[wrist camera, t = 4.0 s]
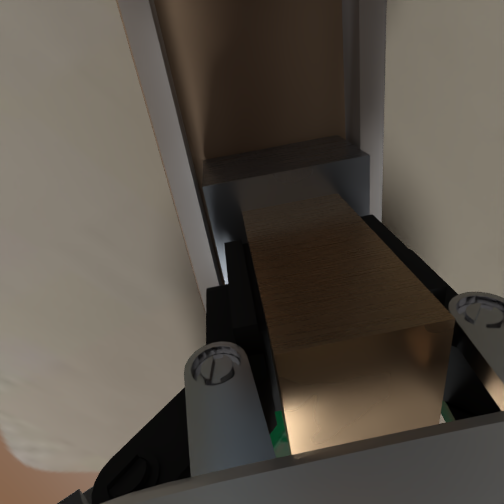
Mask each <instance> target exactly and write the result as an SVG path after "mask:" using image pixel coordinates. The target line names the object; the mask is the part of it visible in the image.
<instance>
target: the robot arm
mask: <svg viewBox="0 0 504 504" xmlns="http://www.w3.org/2000/svg"><path fill="white" fill-rule="evenodd" d="M361 218H362V219H363V221H364V222H365V223H366V224H367V225H368V226H369V227H370V228H371V229H372V230H373V231H374V232H375V233H376V234H377V235H378V237H379V238H380V239H381V240H382V241H383V242H384V243H385V244H386V245H387V246H388V247H389V248H390V249H391V250H392V251H393V253H394V254H395V255H396V256H397V257H398V258H399V259H400V260H401V261H402V262H403V263H404V264H405V265H406V266H407V267H408V269H409V270H410V271H411V272H412V273H413V274H414V275H415V276H416V277H417V278H418V279H419V280H420V281H421V282H422V283H423V285H424V286H425V287H426V288H427V289H428V290H429V291H430V292H431V293H432V294H433V295H434V296H435V297H436V298H437V299H438V301H439V302H440V303H441V304H442V305H443V306H444V307H445V308H446V309H447V310H448V311H449V312H450V313H451V314H452V315H453V317H454V318H455V325H454V331H453V338H452V344H451V350H450V357H449V363H448V369H447V376H446V382H445V388H444V395H443V401H442V407H441V414H442V416H443V418H444V420H445V422H446V423H442V424H437V425H432V426H427V427H422V428H417V429H412V430H408V431H403V432H398V433H393V434H388V435H383V436H379V437H374V438H369V439H364V440H359V441H355V442H350V443H345V444H340V445H336V446H331V447H326V448H321V449H317V450H312V451H307V452H303V453H298V454H293V455H288V456H284V457H279V458H276V456H275V452H274V448H273V445H272V441H271V438H270V434H271V432H272V431H273V430H274V428H275V427H276V426H277V421H276V415H275V412H276V411H281V410H282V409H281V403H280V398H279V392H278V386H277V381H276V375H275V370H274V364H273V359H272V353H271V348H270V342H269V336H268V331H267V326H266V321H265V316H264V311H263V307H262V302H261V298H260V293H259V289H258V284H257V280H256V275H255V271H254V266H253V262H252V257H251V253H250V248H249V244H248V243H245V244H242V240H236V241H231V242H226V243H224V246H225V256H226V266H227V277H228V284H225V285H220V286H215V287H210V288H207V289H206V345H205V346H203V347H201V348H200V349H198V350H197V351H195V352H194V353H193V355H192V356H191V357H190V358H189V359H188V361H187V363H186V365H185V370H184V381H185V388H184V389H182V390H181V391H180V392H179V393H178V394H177V395H176V396H175V397H174V398H173V399H172V400H171V401H170V402H169V403H168V404H167V405H166V406H165V407H164V408H163V409H162V410H161V411H160V412H159V413H158V414H157V415H156V416H155V417H154V418H153V419H152V420H151V421H149V422H148V423H147V424H146V425H145V426H144V427H143V428H142V429H141V430H140V431H139V432H138V433H137V434H136V435H135V436H134V437H133V438H132V439H131V440H130V441H129V442H128V443H127V444H126V445H125V446H124V447H123V448H122V449H121V450H120V451H119V452H117V453H116V454H115V455H114V456H113V457H112V458H111V459H110V460H109V462H108V463H107V464H106V465H105V466H104V467H103V469H102V470H101V471H100V473H99V475H98V477H97V479H96V481H95V483H94V486H93V487H92V488H90V489H88V490H87V491H86V492H84V493H82V492H81V491H80V489H78V490H77V491H75V492H74V493H72V494H71V495H69V496H68V497H66V498H65V499H63V500H62V501H60V502H59V503H57V504H504V298H502V297H500V296H497V295H494V294H490V293H484V292H466V293H462V294H457V293H456V292H455V291H454V290H453V289H452V288H451V287H450V286H449V285H448V284H447V283H446V282H445V281H444V280H443V279H442V278H441V277H439V276H438V275H437V274H436V273H435V272H434V271H433V270H432V269H431V268H430V267H429V266H428V265H427V264H426V263H425V262H424V261H423V260H422V259H421V258H420V257H419V256H418V255H417V254H416V253H414V252H413V251H412V250H410V249H408V248H407V247H406V246H405V245H404V244H403V243H402V242H401V241H400V240H399V239H398V238H397V237H396V236H395V235H394V234H393V233H392V232H391V231H389V230H388V229H387V228H386V227H385V226H384V225H383V224H382V223H381V222H380V221H379V220H378V219H377V218H376V217H375V216H374V215H373V214H371V215H366V216H361Z"/></svg>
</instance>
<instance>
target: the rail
mask: <svg viewBox="0 0 504 504" xmlns="http://www.w3.org/2000/svg"><path fill="white" fill-rule="evenodd" d="M116 2H117V5H118V9H119V12H120V16H121V19H122V23H123V26H124V30H125V33H126V37H127V41H128V44H129V48H130V51H131V55H132V58H133V62H134V65H135V69H136V72H137V76H138V79H139V83H140V86H141V90H142V93H143V97H144V100H145V104H146V107H147V111H148V114H149V118H150V121H151V125H152V128H153V132H154V135H155V139H156V143H157V146H158V150H159V153H160V157H161V160H162V164H163V167H164V171H165V174H166V178H167V181H168V185H169V188H170V192H171V195H172V199H173V202H174V206H175V209H176V213H177V216H178V220H179V223H180V227H181V230H182V234H183V237H184V241H185V244H186V248H187V252H188V255H189V259H190V262H191V266H192V269H193V273H194V276H195V280H196V283H197V287H198V290H199V294H200V297H201V301H202V304H203V308H204V311H205V312H206V289H207V288H210V287H215V286H220V285H225V281H224V277H223V272H222V268H221V264H220V260H219V255H218V251H217V247H216V243H215V239H214V234H213V230H212V226H211V222H210V217H209V213H208V209H207V205H206V201H205V196H204V192H203V188H202V178H203V160H206V159H212V158H217V157H222V156H228V155H233V154H238V153H244V152H249V151H254V150H259V149H265V148H270V147H275V146H281V145H286V144H291V143H297V142H302V141H307V140H313V139H318V138H323V137H329V136H334V135H339V136H340V137H342V138H343V139H345V140H347V141H348V142H350V143H351V144H353V145H355V146H356V147H358V148H359V149H361V150H363V151H364V152H366V153H367V154H369V155H370V215H371V214H373V215H374V216H375V217H376V218H377V219H378V220H379V221H380V222H381V223H382V181H383V137H384V93H385V49H386V5H387V0H116Z"/></svg>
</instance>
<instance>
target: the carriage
mask: <svg viewBox="0 0 504 504" xmlns="http://www.w3.org/2000/svg"><path fill="white" fill-rule="evenodd" d="M202 188H203V192H204V196H205V201H206V205H207V209H208V213H209V217H210V222H211V226H212V230H213V234H214V239H215V243H216V247H217V251H218V255H219V260H220V264H221V268H222V272H223V277H224V281H225V284H228V277H227V266H226V256H225V246H224V243H226V242H231V241H236V240H242V244H245V243H248V244H249V248H250V253H251V257H252V262H253V266H254V271H255V275H256V280H257V284H258V289H259V293H260V298H261V302H262V307H263V311H264V316H265V321H266V326H267V331H268V336H269V342H270V348H271V353H272V359H273V364H274V370H275V375H276V381H277V386H278V392H279V398H280V403H281V409H282V410H281V412H282V416H283V421H284V426H285V431H286V435H287V440H288V445H289V450H290V454H291V455H293V454H298V453H303V452H307V451H312V450H317V449H321V448H326V447H331V446H336V445H340V444H345V443H350V442H355V441H359V440H364V439H369V438H374V437H379V436H383V435H388V434H393V433H398V432H403V431H408V430H412V429H417V428H422V427H427V426H432V425H437V424H439V420H440V414H441V407H442V401H443V395H444V388H445V382H446V376H447V369H448V363H449V357H450V350H451V344H452V338H453V331H454V325H455V318H454V317H453V315H452V314H451V313H450V312H449V311H448V310H447V309H446V308H445V307H444V306H443V305H442V304H441V303H440V302H439V301H438V299H437V298H436V297H435V296H434V295H433V294H432V293H431V292H430V291H429V290H428V289H427V288H426V287H425V286H424V285H423V283H422V282H421V281H420V280H419V279H418V278H417V277H416V276H415V275H414V274H413V273H412V272H411V271H410V270H409V269H408V267H407V266H406V265H405V264H404V263H403V262H402V261H401V260H400V259H399V258H398V257H397V256H396V255H395V254H394V253H393V251H392V250H391V249H390V248H389V247H388V246H387V245H386V244H385V243H384V242H383V241H382V240H381V239H380V238H379V237H378V235H377V234H376V233H375V232H374V231H373V230H372V229H371V228H370V227H369V226H368V225H367V224H366V223H365V222H364V221H363V219H362V218H361V216H366V215H370V155H369V154H367V153H366V152H364V151H363V150H361V149H359V148H358V147H356V146H355V145H353V144H351V143H350V142H348V141H347V140H345V139H343V138H342V137H340V136H339V135H334V136H329V137H323V138H318V139H313V140H307V141H302V142H297V143H291V144H286V145H281V146H275V147H270V148H265V149H259V150H254V151H249V152H244V153H238V154H233V155H228V156H222V157H217V158H212V159H206V160H203V178H202Z"/></svg>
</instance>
